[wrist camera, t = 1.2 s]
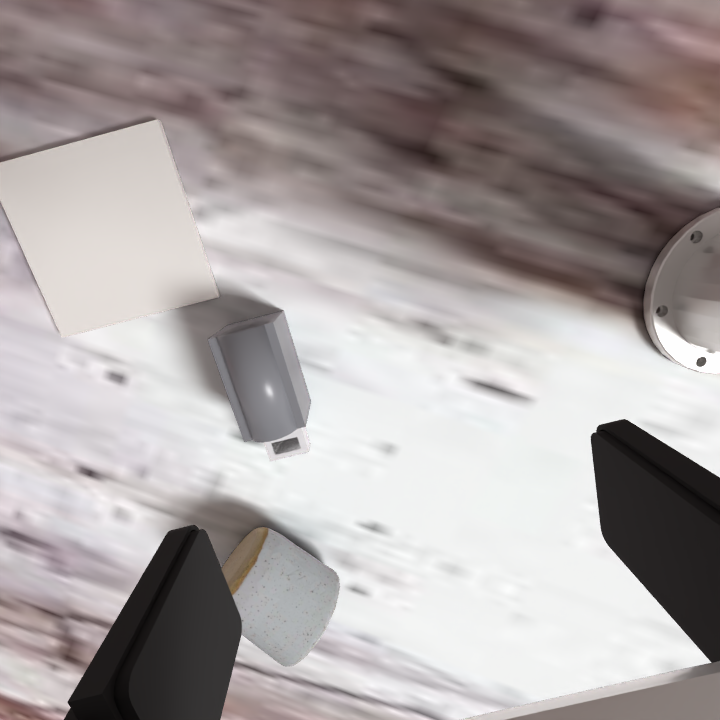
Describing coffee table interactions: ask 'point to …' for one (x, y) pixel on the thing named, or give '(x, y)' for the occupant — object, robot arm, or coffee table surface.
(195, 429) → the coffee table surface
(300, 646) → the ceramic mug
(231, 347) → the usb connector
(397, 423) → the coffee table surface
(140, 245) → the felt coaster
